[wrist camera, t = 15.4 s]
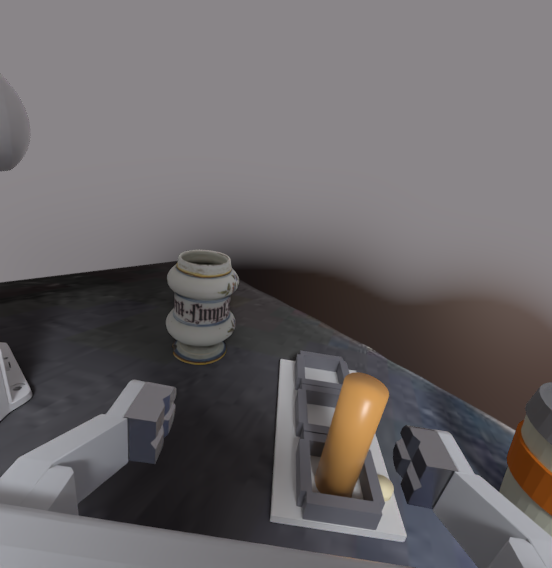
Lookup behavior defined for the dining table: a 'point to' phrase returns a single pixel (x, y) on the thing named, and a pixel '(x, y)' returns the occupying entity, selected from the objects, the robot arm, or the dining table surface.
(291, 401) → the board
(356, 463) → the orange rounded cylinder
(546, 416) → the reusable coffee cup
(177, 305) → the apothecary jar
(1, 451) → the dining table surface
